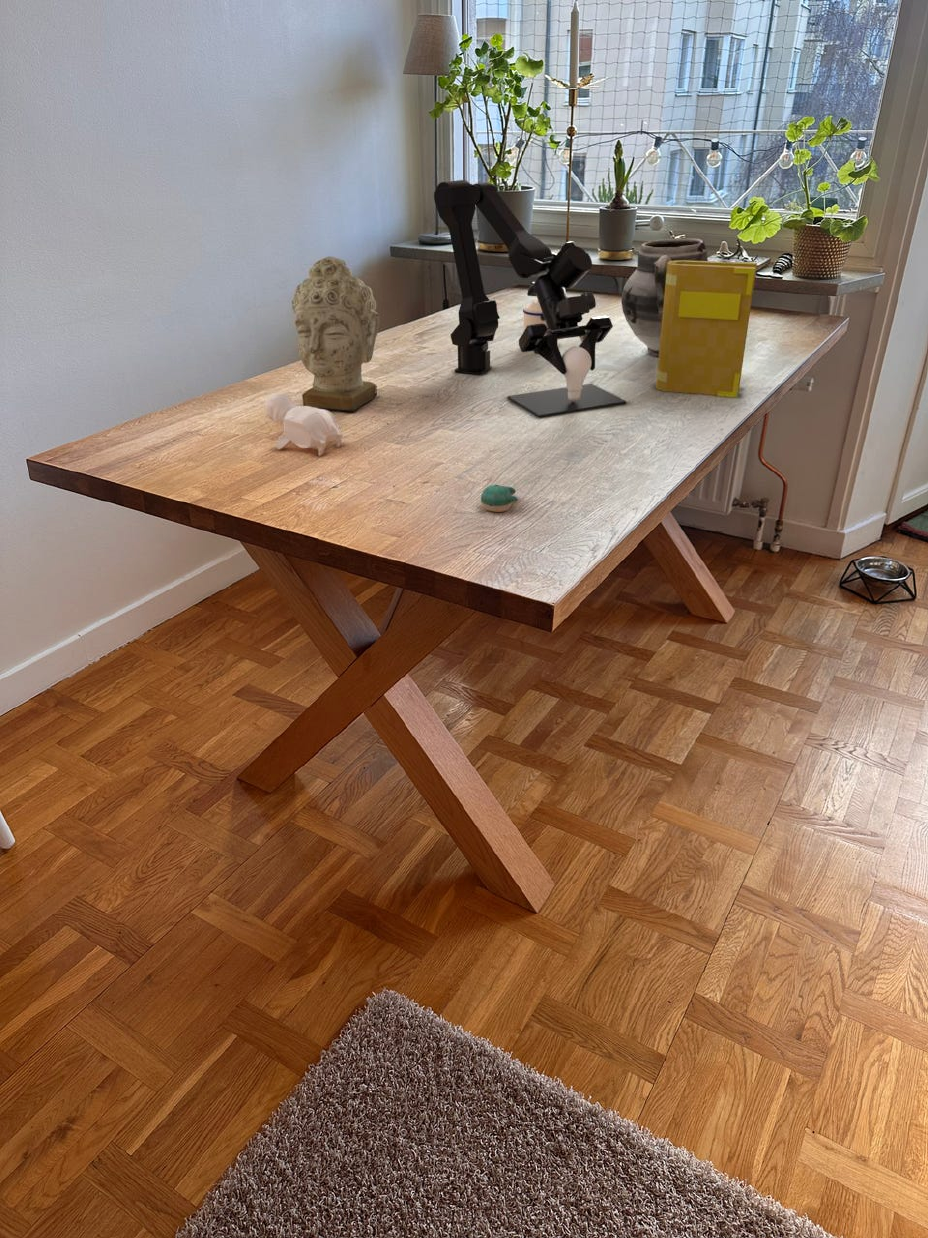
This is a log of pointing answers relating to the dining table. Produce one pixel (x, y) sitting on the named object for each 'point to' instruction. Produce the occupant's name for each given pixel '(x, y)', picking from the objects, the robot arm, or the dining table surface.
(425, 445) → the dining table surface
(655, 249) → the ceramic pot
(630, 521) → the dining table surface
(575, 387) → the lightbulb
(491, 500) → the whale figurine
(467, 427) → the dining table surface
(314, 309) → the buddha head
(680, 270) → the book
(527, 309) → the teacup with lid
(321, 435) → the white turtle figurine
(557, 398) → the mat
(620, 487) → the dining table surface
